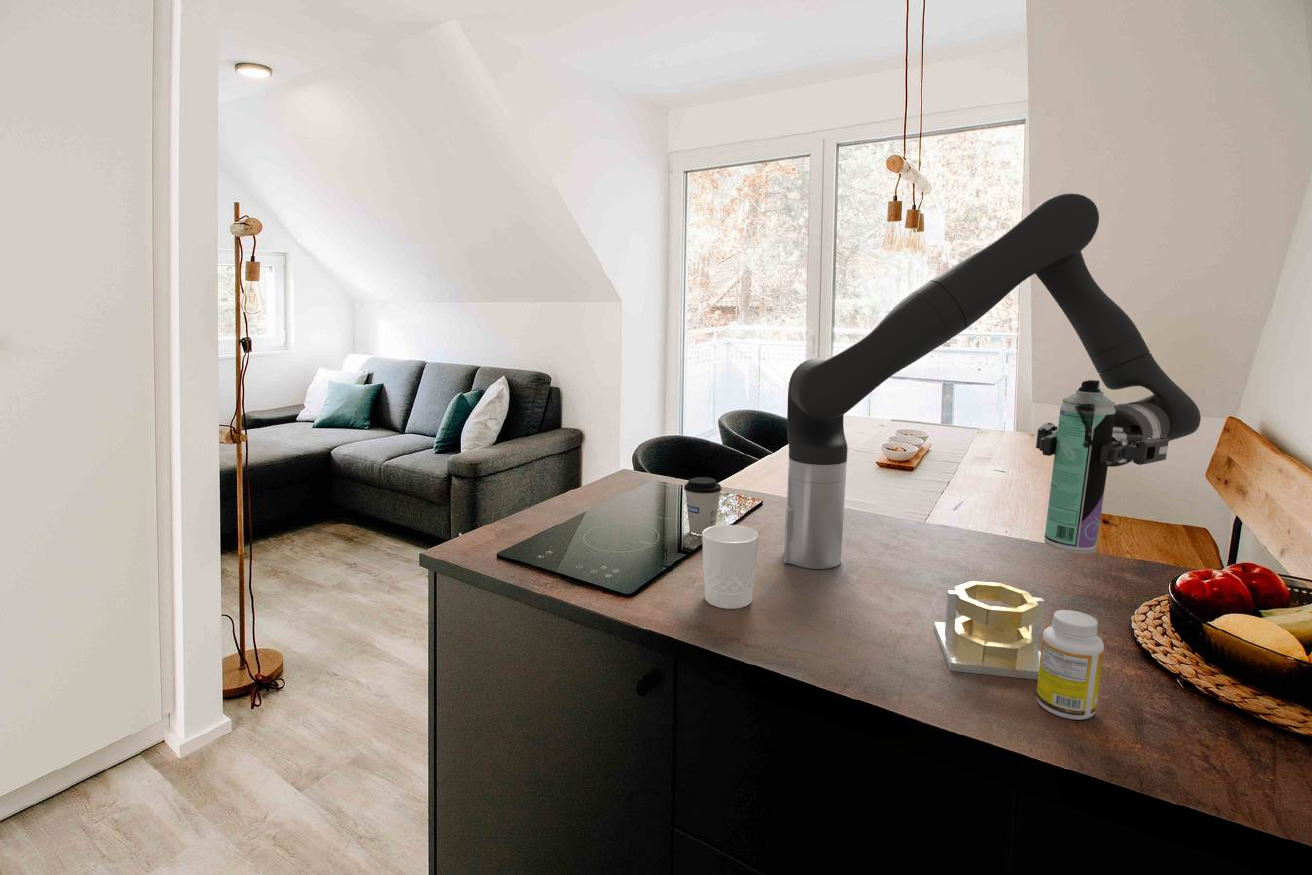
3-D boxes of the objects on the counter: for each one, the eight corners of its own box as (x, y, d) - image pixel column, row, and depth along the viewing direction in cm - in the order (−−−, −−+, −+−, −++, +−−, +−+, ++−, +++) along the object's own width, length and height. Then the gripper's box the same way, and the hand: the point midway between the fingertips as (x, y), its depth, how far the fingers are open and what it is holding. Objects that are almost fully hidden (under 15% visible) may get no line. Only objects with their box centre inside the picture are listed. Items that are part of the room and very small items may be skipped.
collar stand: (950, 670, 83) (955, 610, 81) (934, 628, 93) (938, 575, 92) (1053, 681, 80) (1060, 619, 79) (1024, 637, 91) (1030, 582, 90)
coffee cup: (715, 525, 136) (716, 475, 134) (725, 537, 129) (726, 484, 127) (679, 527, 134) (680, 476, 132) (687, 539, 128) (688, 485, 126)
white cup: (760, 592, 104) (763, 528, 103) (749, 614, 97) (751, 545, 95) (708, 585, 107) (710, 522, 105) (694, 606, 100) (695, 538, 98)
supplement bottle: (1068, 690, 78) (1079, 604, 77) (1108, 719, 73) (1121, 627, 71) (1023, 695, 78) (1033, 608, 76) (1060, 725, 72) (1072, 631, 70)
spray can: (1103, 554, 82) (1128, 383, 78) (1052, 551, 83) (1074, 382, 79) (1085, 539, 88) (1107, 378, 84) (1037, 536, 89) (1057, 377, 85)
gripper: (1063, 399, 97) (1013, 411, 86) (1191, 412, 87) (1153, 427, 75) (1056, 452, 99) (1006, 471, 87) (1181, 471, 88) (1143, 495, 77)
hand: (1074, 451), depth 81 cm, fingers closed on spray can, 5 cm apart
